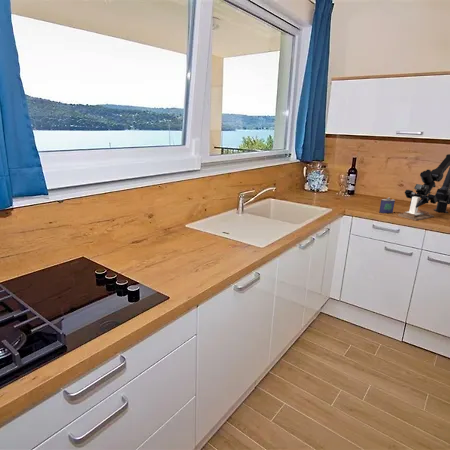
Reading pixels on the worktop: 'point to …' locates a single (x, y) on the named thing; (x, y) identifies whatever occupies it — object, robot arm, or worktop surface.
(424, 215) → the rail board
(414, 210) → the slider
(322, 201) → the worktop surface
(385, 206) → the flask
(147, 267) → the worktop surface
